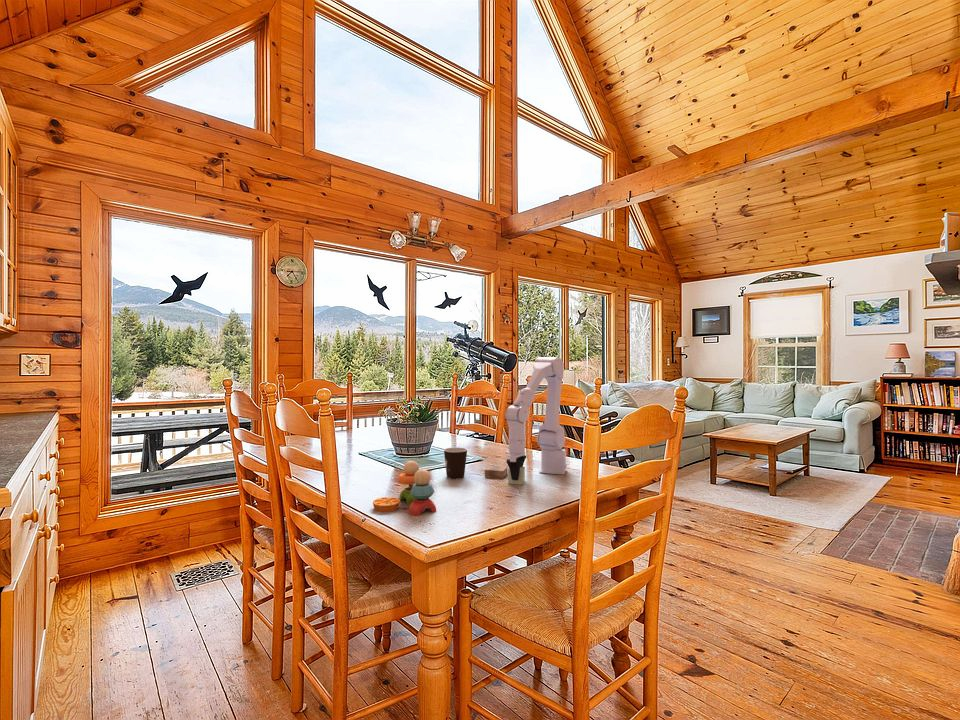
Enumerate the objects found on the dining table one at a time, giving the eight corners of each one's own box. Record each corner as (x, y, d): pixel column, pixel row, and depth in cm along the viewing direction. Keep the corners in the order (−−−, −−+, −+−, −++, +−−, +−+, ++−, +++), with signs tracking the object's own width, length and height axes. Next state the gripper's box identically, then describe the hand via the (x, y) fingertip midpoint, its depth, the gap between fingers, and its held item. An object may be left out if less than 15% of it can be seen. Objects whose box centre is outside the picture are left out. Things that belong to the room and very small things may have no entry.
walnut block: (507, 474, 184) (507, 466, 184) (503, 479, 177) (503, 471, 177) (489, 473, 186) (489, 465, 185) (484, 477, 179) (484, 469, 179)
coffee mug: (464, 480, 174) (464, 452, 173) (441, 479, 175) (441, 451, 175) (470, 472, 185) (470, 446, 185) (448, 471, 186) (448, 445, 186)
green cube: (524, 480, 174) (524, 466, 174) (522, 484, 169) (522, 470, 169) (510, 479, 175) (511, 466, 175) (508, 483, 170) (508, 469, 170)
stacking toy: (365, 506, 145) (365, 465, 144) (415, 495, 156) (415, 457, 155) (396, 523, 131) (397, 477, 131) (448, 510, 142) (448, 467, 142)
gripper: (509, 435, 180) (509, 472, 180) (501, 442, 166) (501, 482, 166) (528, 436, 178) (528, 473, 178) (521, 443, 164) (521, 483, 164)
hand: (516, 477), depth 172 cm, fingers open, 5 cm apart
